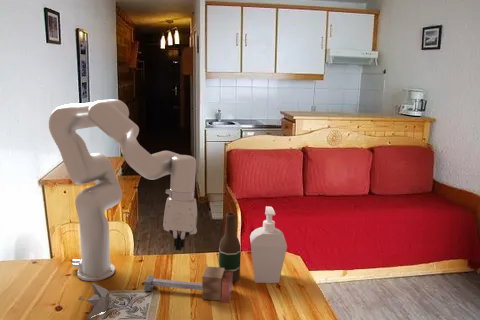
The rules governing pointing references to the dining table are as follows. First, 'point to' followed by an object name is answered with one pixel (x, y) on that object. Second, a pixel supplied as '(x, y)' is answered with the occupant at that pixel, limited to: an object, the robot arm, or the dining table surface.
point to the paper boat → (98, 300)
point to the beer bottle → (230, 248)
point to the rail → (192, 285)
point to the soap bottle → (268, 250)
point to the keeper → (212, 283)
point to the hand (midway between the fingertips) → (179, 248)
